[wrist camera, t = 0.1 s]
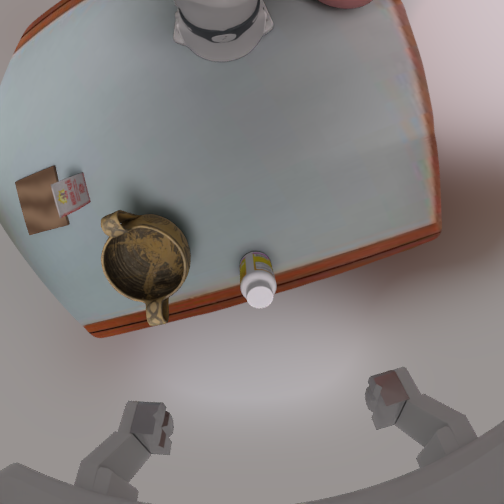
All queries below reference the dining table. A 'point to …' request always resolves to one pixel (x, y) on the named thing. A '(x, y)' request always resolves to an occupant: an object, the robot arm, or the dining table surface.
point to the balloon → (345, 3)
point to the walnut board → (40, 201)
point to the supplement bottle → (257, 279)
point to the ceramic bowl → (145, 260)
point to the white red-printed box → (70, 194)
